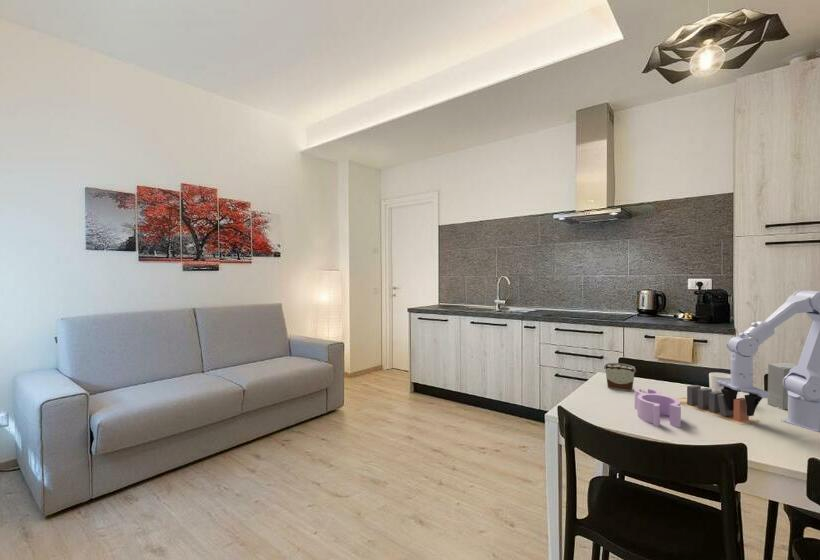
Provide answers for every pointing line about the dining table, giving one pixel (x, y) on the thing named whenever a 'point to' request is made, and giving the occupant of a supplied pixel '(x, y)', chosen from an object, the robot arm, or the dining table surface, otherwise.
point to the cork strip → (730, 418)
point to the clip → (657, 407)
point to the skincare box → (778, 384)
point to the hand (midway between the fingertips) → (741, 412)
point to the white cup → (718, 376)
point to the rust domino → (740, 409)
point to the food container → (620, 375)
